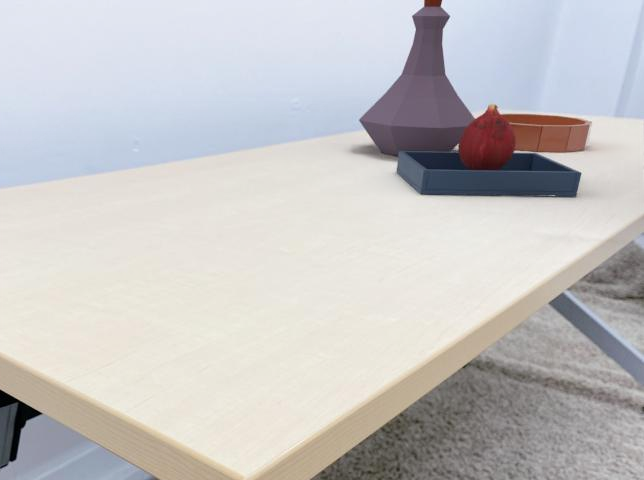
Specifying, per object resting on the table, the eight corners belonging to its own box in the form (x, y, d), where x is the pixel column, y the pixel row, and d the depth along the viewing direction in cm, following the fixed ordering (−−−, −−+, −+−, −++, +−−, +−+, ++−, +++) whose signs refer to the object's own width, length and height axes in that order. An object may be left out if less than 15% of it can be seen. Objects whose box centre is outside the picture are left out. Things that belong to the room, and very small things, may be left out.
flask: (494, 151, 99) (521, -7, 91) (447, 167, 88) (474, -12, 80) (386, 139, 109) (402, -5, 101) (331, 152, 98) (345, -9, 89)
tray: (531, 174, 84) (536, 152, 83) (576, 196, 73) (581, 172, 72) (396, 172, 85) (398, 150, 84) (420, 194, 74) (423, 170, 73)
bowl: (560, 137, 112) (565, 114, 111) (604, 152, 99) (610, 126, 97) (467, 135, 113) (470, 113, 111) (498, 151, 99) (503, 125, 98)
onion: (517, 184, 76) (532, 107, 73) (464, 184, 76) (476, 106, 73) (496, 174, 82) (509, 101, 78) (446, 173, 82) (457, 101, 78)
